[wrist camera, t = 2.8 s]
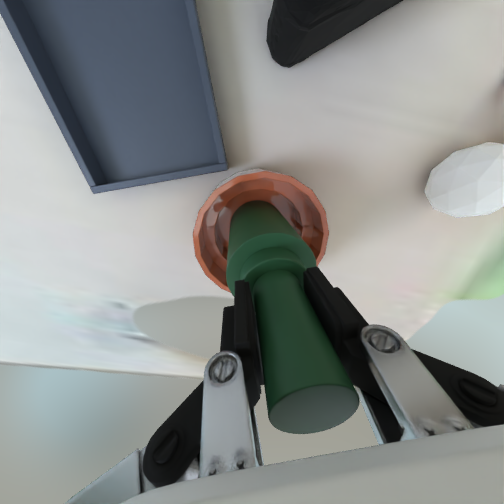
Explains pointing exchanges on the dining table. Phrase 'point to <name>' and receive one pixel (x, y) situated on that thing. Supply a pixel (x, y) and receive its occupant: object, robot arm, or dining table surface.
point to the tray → (123, 86)
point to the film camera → (315, 25)
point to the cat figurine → (469, 181)
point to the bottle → (287, 323)
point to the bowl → (250, 189)
